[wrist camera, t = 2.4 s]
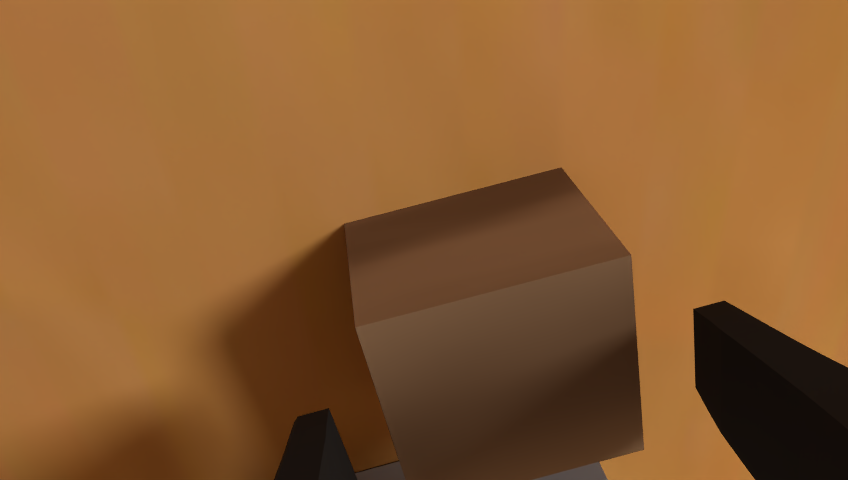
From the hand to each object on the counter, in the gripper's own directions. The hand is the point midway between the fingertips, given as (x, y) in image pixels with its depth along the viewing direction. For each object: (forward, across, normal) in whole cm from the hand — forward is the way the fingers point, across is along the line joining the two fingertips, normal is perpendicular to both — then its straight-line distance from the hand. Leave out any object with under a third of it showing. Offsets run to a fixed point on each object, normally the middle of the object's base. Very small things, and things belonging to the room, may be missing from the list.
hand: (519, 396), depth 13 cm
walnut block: (+4, 0, 0) cm, 4 cm away
